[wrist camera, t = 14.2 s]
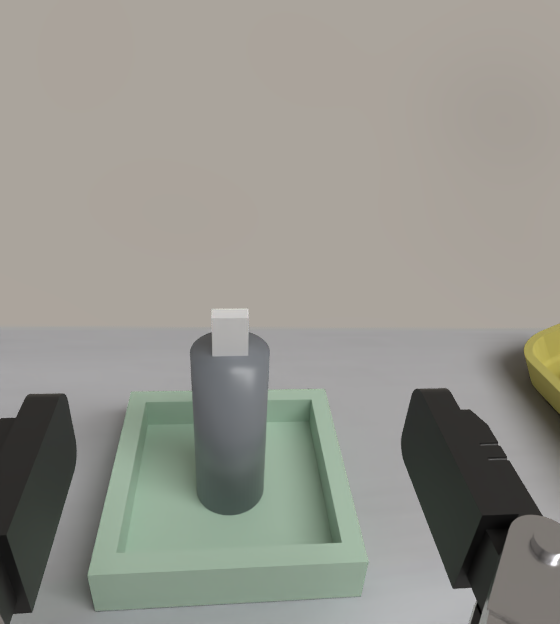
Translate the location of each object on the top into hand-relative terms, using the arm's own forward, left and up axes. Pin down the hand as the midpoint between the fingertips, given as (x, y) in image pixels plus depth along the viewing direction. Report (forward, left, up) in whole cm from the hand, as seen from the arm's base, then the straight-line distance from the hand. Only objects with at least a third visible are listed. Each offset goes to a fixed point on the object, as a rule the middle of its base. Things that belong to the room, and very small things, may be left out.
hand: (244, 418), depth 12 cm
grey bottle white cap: (0, +11, -14) cm, 18 cm away
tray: (0, +11, -15) cm, 19 cm away
